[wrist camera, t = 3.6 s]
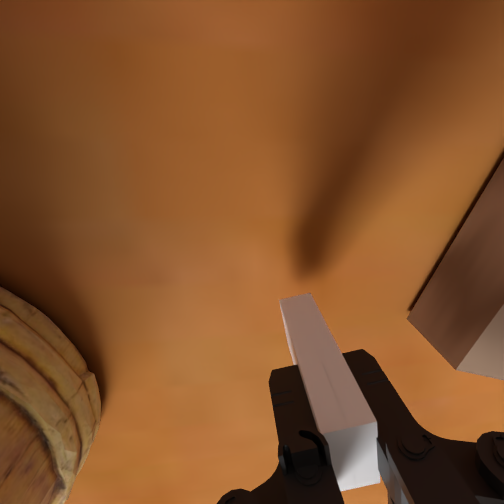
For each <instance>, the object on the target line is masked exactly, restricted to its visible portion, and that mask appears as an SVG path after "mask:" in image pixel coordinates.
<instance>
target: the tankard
mask: <svg viewBox="0 0 504 504" xmlns="http://www.w3.org/2000/svg"><path fill="white" fill-rule="evenodd" d="M100 421H101V401H100V395H99V389H98V385H97V382H96V379H95V375H94V373H91V372H89V370H88V368H87V365H86V362H85V360H84V359H83V357H82V356H81V354H80V353H79V351H78V350H77V348H76V347H75V346H74V345H73V344H72V342H71V341H70V340H69V339H68V338H67V337H66V336H65V335H64V334H63V333H62V331H61V330H60V329H59V328H58V327H57V326H56V325H55V324H54V323H53V322H52V321H51V320H50V319H49V318H48V317H47V316H46V315H44V314H43V313H42V312H41V311H39V310H38V309H37V308H35V307H34V306H32V305H30V304H29V303H27V302H26V301H24V300H22V299H21V298H19V297H17V296H16V295H14V294H13V293H11V292H9V291H8V290H6V289H4V288H2V287H0V504H64V503H65V501H66V500H67V499H68V497H69V495H70V492H71V489H72V486H73V484H74V481H75V478H76V476H77V474H78V473H79V471H80V470H81V468H82V466H83V464H84V462H85V460H86V458H87V456H88V454H89V450H90V447H91V445H92V443H93V441H94V439H95V436H96V434H97V431H98V429H99V425H100Z"/></svg>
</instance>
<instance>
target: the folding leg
mask: <svg viewBox="0 0 504 504" xmlns="http://www.w3.org/2000/svg"><path fill="white" fill-rule="evenodd" d="M407 320H408V321H409V322H410V323H411V324H412V325H413V326H414V327H415V328H416V329H417V330H418V331H419V332H420V333H421V334H422V335H423V336H424V337H425V338H426V339H427V340H428V341H429V343H430V344H431V345H432V346H433V347H434V348H435V349H436V350H437V351H438V352H439V353H440V354H441V355H442V356H443V357H444V358H445V359H446V360H447V361H448V362H449V363H450V365H451V366H452V367H453V368H454V369H455V370H458V371H463V372H468V373H472V374H477V375H482V376H486V377H491V378H496V379H500V380H504V158H503V160H502V162H501V163H500V165H499V167H498V168H497V170H496V172H495V173H494V175H493V177H492V178H491V180H490V182H489V183H488V185H487V187H486V188H485V190H484V191H483V193H482V195H481V196H480V198H479V200H478V201H477V203H476V205H475V206H474V208H473V210H472V211H471V213H470V215H469V216H468V218H467V220H466V221H465V223H464V225H463V226H462V228H461V230H460V231H459V233H458V235H457V236H456V238H455V240H454V241H453V243H452V245H451V246H450V248H449V249H448V251H447V253H446V254H445V256H444V258H443V259H442V261H441V263H440V264H439V266H438V268H437V269H436V271H435V273H434V274H433V276H432V278H431V279H430V281H429V283H428V284H427V286H426V288H425V289H424V291H423V293H422V294H421V296H420V298H419V299H418V301H417V303H416V304H415V306H414V307H413V309H412V311H411V312H410V314H409V316H408V317H407Z"/></svg>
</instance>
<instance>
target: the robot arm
mask: <svg viewBox="0 0 504 504" xmlns="http://www.w3.org/2000/svg"><path fill="white" fill-rule="evenodd" d="M279 302H280V307H281V312H282V317H283V322H284V327H285V332H286V337H287V342H288V346H289V349H290V353H291V356H292V360H293V363H294V365H292V366H288V367H284V368H279V369H275V370H272V372H271V376H270V379H269V387H270V393H271V399H272V405H273V411H274V417H275V422H276V428H277V434H278V440H279V445H278V458H279V464H278V466H277V469H276V471H275V472H274V473H273V475H272V476H271V477H270V478H269V479H268V480H267V481H266V482H264V483H263V484H261V485H260V486H258V487H257V488H255V489H254V490H252V491H251V492H250V491H247V490H244V489H236V490H231V491H230V492H228V493H226V494H225V495H223V496H222V497H221V499H220V500H219V501H218V503H217V504H344V501H343V498H342V495H341V491H345V490H349V489H354V488H358V487H363V486H367V485H372V484H376V483H380V475H381V477H382V479H383V481H384V484H385V486H386V488H387V490H388V504H504V432H495V431H491V432H488V433H484V434H482V435H481V436H480V437H479V439H478V440H477V443H474V442H465V441H457V440H449V439H444V438H441V437H438V436H436V435H433V434H432V433H430V432H428V431H427V430H425V429H424V428H423V427H421V426H420V425H419V424H418V423H417V422H416V420H415V419H414V418H413V416H412V415H411V413H410V412H409V410H408V409H407V407H406V406H405V404H404V402H403V401H402V399H401V398H400V396H399V395H398V393H397V392H396V390H395V389H394V387H393V386H392V384H391V383H390V381H389V380H388V378H387V376H386V375H385V373H384V372H383V371H382V369H381V367H380V366H379V364H378V363H377V361H376V359H375V358H374V357H373V356H371V355H370V354H369V353H367V352H366V351H365V350H363V349H360V350H356V351H351V352H347V353H341V351H340V349H339V347H338V345H337V343H336V342H335V340H334V338H333V336H332V334H331V332H330V330H329V328H328V326H327V324H326V322H325V320H324V318H323V316H322V314H321V313H320V311H319V309H318V307H317V305H316V303H315V301H314V299H313V297H312V295H311V293H307V294H303V295H298V296H294V297H290V298H285V299H281V300H279Z"/></svg>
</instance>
